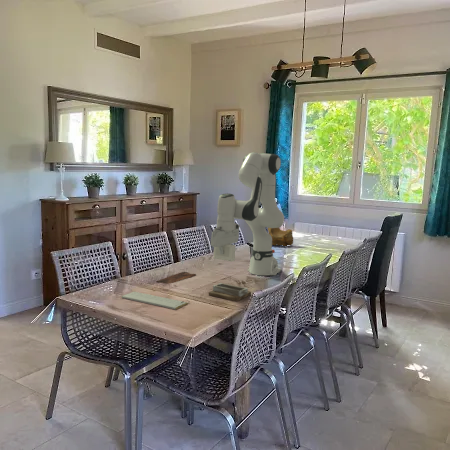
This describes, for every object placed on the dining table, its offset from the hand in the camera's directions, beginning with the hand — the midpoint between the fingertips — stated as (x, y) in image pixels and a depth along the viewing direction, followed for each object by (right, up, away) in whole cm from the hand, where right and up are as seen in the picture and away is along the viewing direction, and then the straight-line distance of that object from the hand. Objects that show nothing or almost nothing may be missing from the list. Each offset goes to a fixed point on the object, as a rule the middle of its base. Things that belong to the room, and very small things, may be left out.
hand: (224, 253), depth 223 cm
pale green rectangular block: (0, -3, 0) cm, 3 cm away
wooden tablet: (-27, -16, +26) cm, 41 cm away
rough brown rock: (+42, -3, +135) cm, 142 cm away
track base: (+3, -21, -3) cm, 21 cm away
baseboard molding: (-32, -22, -14) cm, 42 cm away
